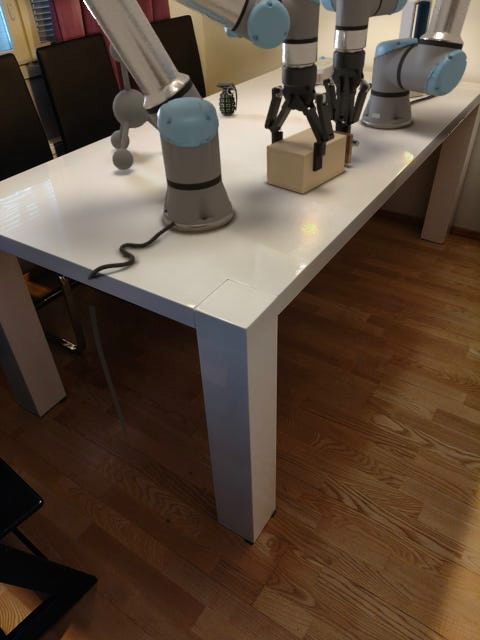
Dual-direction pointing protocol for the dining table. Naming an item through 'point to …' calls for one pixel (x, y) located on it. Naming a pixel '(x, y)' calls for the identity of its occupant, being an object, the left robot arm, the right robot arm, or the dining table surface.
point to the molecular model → (126, 117)
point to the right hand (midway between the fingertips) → (341, 149)
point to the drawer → (348, 145)
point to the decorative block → (323, 69)
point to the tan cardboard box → (303, 161)
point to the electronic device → (420, 26)
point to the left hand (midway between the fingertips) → (297, 164)
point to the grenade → (227, 99)
